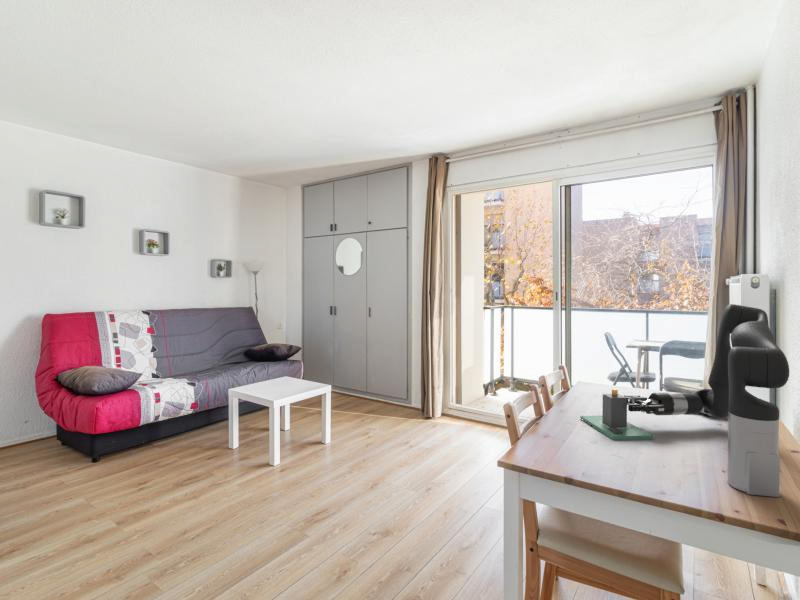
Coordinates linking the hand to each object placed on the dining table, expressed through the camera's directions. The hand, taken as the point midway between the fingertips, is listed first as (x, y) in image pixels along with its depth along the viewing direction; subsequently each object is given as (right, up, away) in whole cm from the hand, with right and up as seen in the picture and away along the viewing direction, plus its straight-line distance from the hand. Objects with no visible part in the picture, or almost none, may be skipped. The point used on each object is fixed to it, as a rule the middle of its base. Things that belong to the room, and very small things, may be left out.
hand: (621, 404), depth 144 cm
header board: (-3, -8, 0) cm, 9 cm away
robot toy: (+41, -8, +19) cm, 46 cm away
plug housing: (-3, -7, 0) cm, 7 cm away
